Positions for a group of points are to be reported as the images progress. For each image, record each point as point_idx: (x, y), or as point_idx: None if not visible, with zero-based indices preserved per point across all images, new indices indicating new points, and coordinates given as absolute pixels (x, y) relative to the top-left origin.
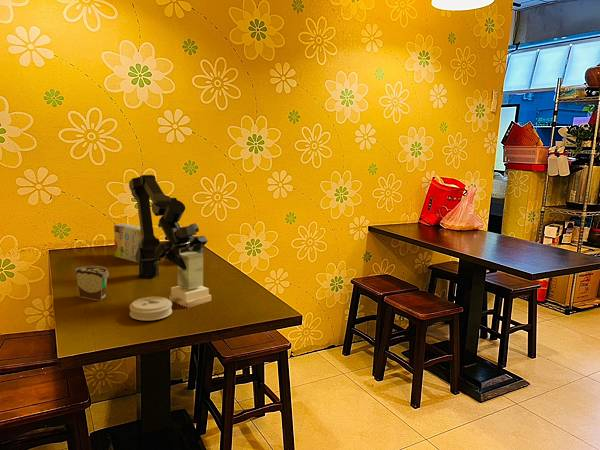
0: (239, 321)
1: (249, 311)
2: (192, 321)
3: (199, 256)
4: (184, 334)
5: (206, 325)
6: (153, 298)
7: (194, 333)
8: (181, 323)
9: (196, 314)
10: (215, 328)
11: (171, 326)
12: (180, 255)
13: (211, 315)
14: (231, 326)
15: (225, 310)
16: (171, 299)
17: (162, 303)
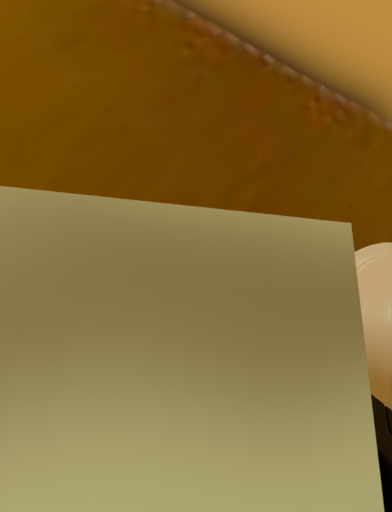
0: (170, 32)
1: (57, 48)
2: (291, 163)
3: (96, 207)
4: (367, 115)
5: (277, 103)
6: (390, 385)
7: (341, 96)
8: (329, 182)
9: (237, 199)
10: (271, 66)
11: (368, 190)
12: (372, 507)
13: (201, 145)
14: (222, 34)
15: (118, 133)
16: None
17: (388, 284)
